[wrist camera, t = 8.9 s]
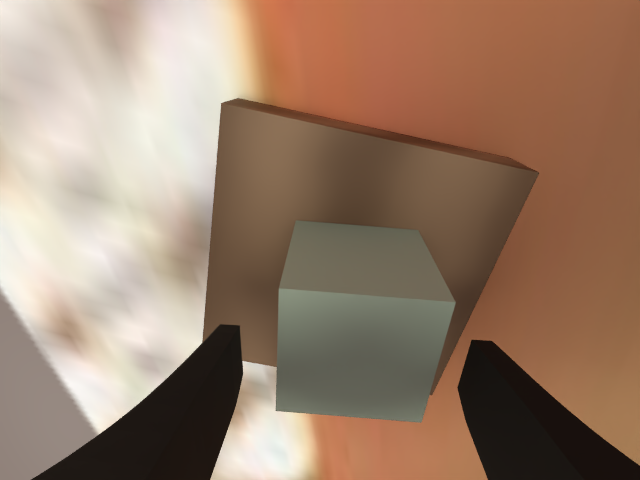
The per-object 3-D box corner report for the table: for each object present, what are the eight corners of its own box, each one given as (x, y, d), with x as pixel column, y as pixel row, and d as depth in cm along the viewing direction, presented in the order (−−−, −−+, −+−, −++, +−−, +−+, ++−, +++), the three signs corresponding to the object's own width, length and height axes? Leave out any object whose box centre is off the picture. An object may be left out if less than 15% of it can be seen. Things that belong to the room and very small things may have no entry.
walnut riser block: (505, 155, 16) (539, 172, 13) (419, 353, 21) (431, 395, 19) (241, 97, 15) (221, 103, 13) (219, 316, 21) (201, 353, 18)
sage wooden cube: (418, 229, 15) (455, 302, 10) (397, 327, 17) (421, 422, 12) (295, 220, 15) (278, 288, 10) (291, 318, 17) (275, 411, 12)
